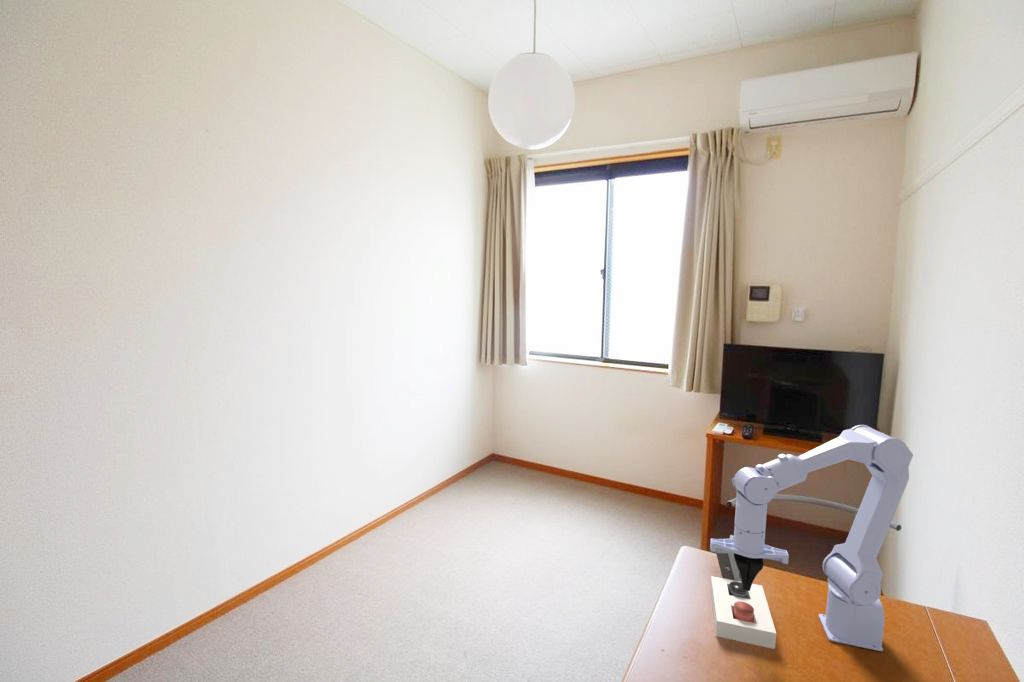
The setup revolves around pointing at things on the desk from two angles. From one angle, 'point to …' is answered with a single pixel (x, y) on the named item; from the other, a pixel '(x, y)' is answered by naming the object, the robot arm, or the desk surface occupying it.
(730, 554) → the electrical switch
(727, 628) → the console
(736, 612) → the red plug
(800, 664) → the desk surface
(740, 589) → the graphite plug
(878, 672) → the desk surface
